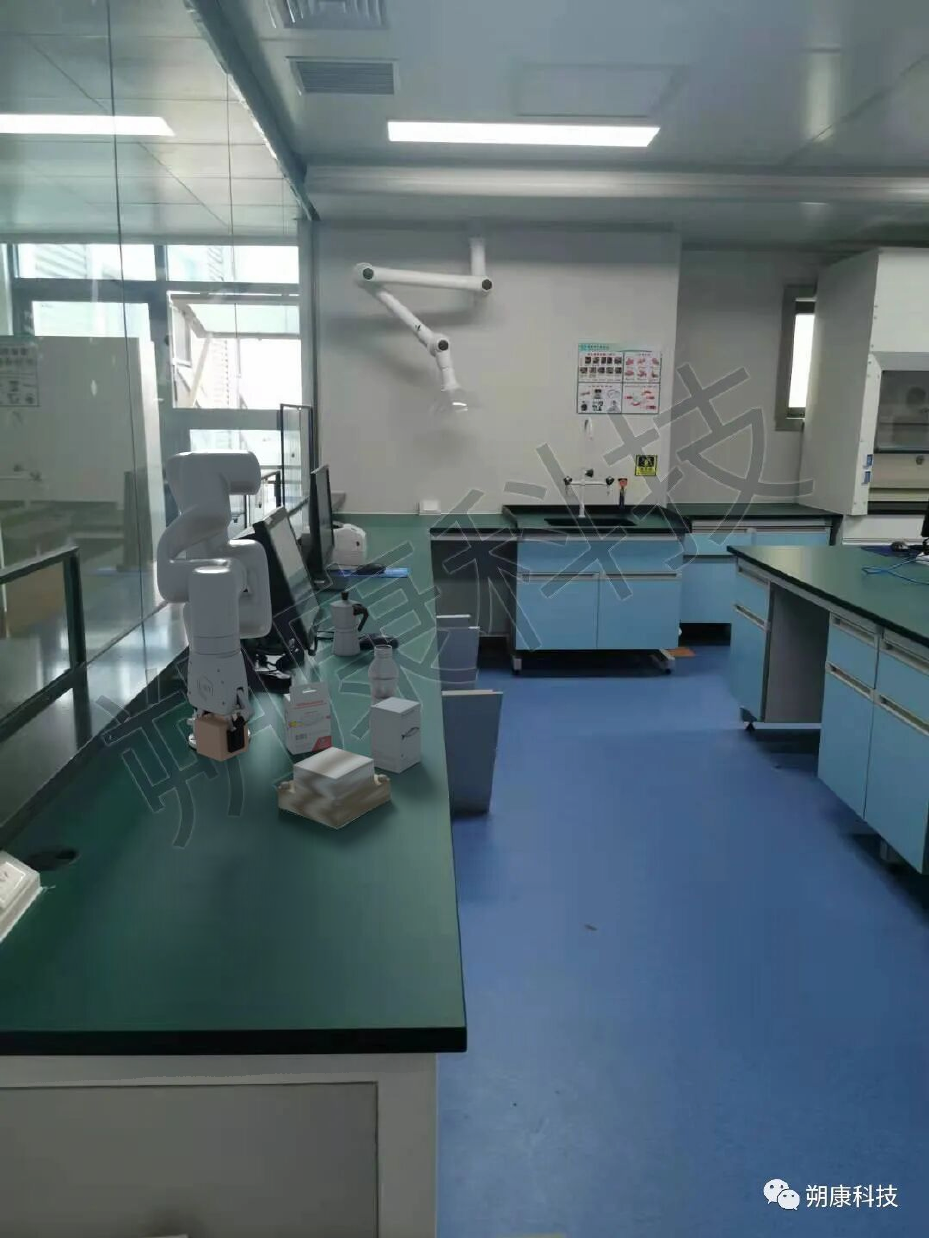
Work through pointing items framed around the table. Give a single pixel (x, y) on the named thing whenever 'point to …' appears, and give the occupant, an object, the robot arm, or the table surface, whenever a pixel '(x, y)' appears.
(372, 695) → the plastic bottle
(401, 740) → the supplement box
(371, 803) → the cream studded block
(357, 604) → the coffee maker
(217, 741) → the tan cube
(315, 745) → the ink cartridge box
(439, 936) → the table surface
